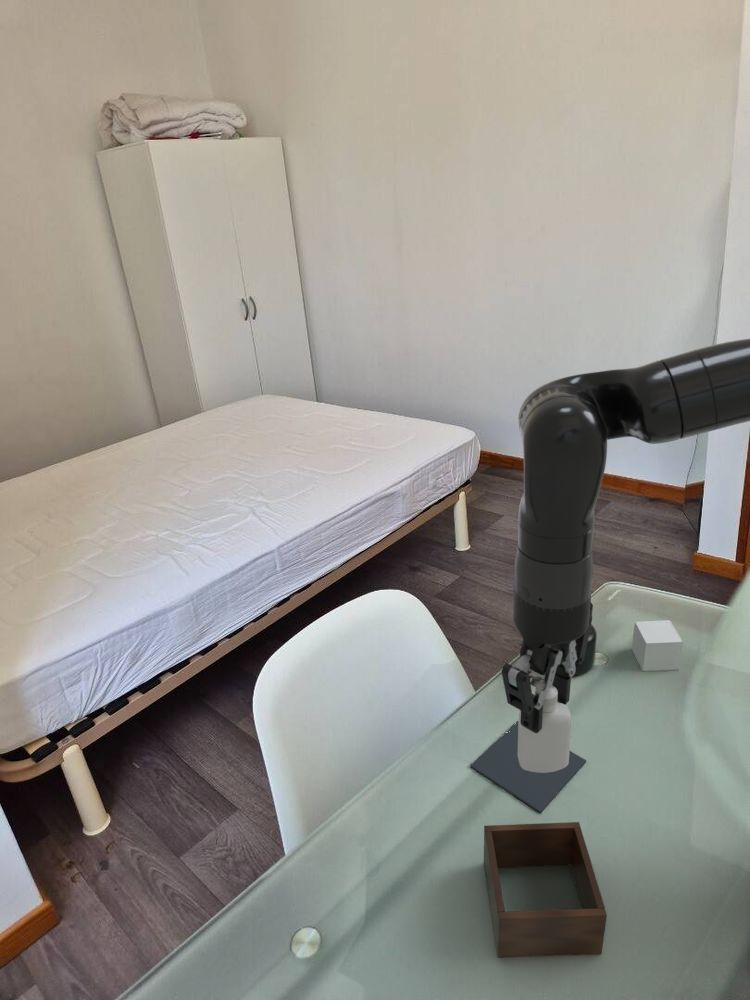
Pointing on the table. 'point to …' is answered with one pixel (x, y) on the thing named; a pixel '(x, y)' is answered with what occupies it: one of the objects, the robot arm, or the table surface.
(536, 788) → the mat
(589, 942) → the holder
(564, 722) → the eye dropper bottle
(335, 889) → the table surface
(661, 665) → the grey cube
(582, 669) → the ink bottle
